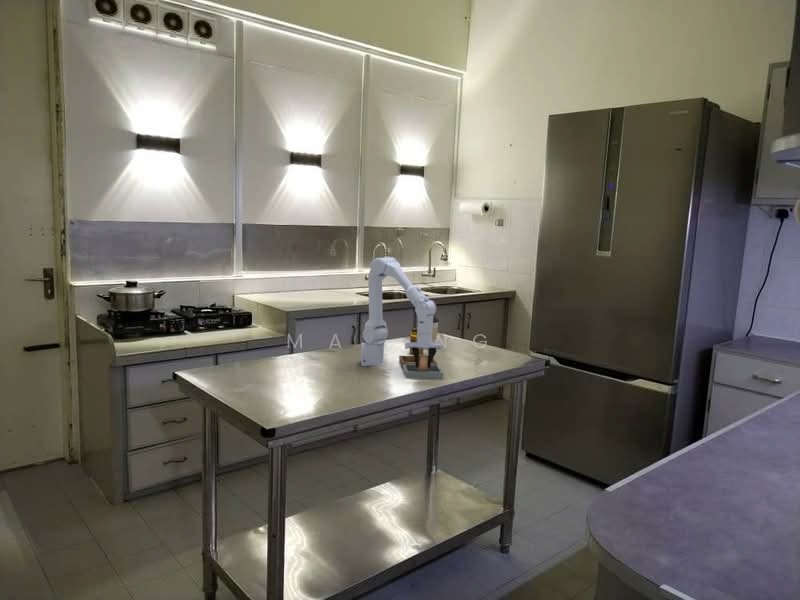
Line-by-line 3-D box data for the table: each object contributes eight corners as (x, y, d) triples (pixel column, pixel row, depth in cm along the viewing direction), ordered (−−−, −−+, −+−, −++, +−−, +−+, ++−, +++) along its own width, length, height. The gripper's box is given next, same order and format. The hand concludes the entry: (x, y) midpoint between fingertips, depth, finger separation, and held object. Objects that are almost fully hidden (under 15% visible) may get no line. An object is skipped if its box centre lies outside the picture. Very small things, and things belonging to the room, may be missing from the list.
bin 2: (405, 379, 216) (406, 371, 215) (402, 371, 227) (403, 364, 226) (442, 380, 217) (443, 372, 217) (437, 372, 228) (438, 364, 228)
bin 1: (402, 370, 228) (402, 363, 228) (399, 362, 240) (399, 355, 239) (437, 371, 230) (437, 363, 229) (432, 363, 241) (432, 356, 241)
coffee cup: (437, 349, 266) (439, 317, 264) (418, 349, 266) (420, 317, 263) (436, 345, 275) (438, 314, 273) (417, 344, 275) (419, 313, 272)
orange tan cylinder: (417, 372, 220) (418, 356, 219) (416, 369, 224) (417, 354, 223) (428, 372, 220) (429, 356, 219) (426, 369, 224) (427, 354, 223)
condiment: (406, 355, 252) (407, 329, 250) (412, 351, 260) (413, 325, 258) (422, 358, 250) (423, 331, 248) (427, 353, 257) (429, 327, 256)
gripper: (407, 334, 215) (405, 369, 217) (445, 335, 216) (443, 370, 218) (404, 330, 222) (403, 364, 224) (442, 331, 223) (439, 365, 225)
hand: (422, 367), depth 221 cm, fingers closed on orange tan cylinder, 4 cm apart
